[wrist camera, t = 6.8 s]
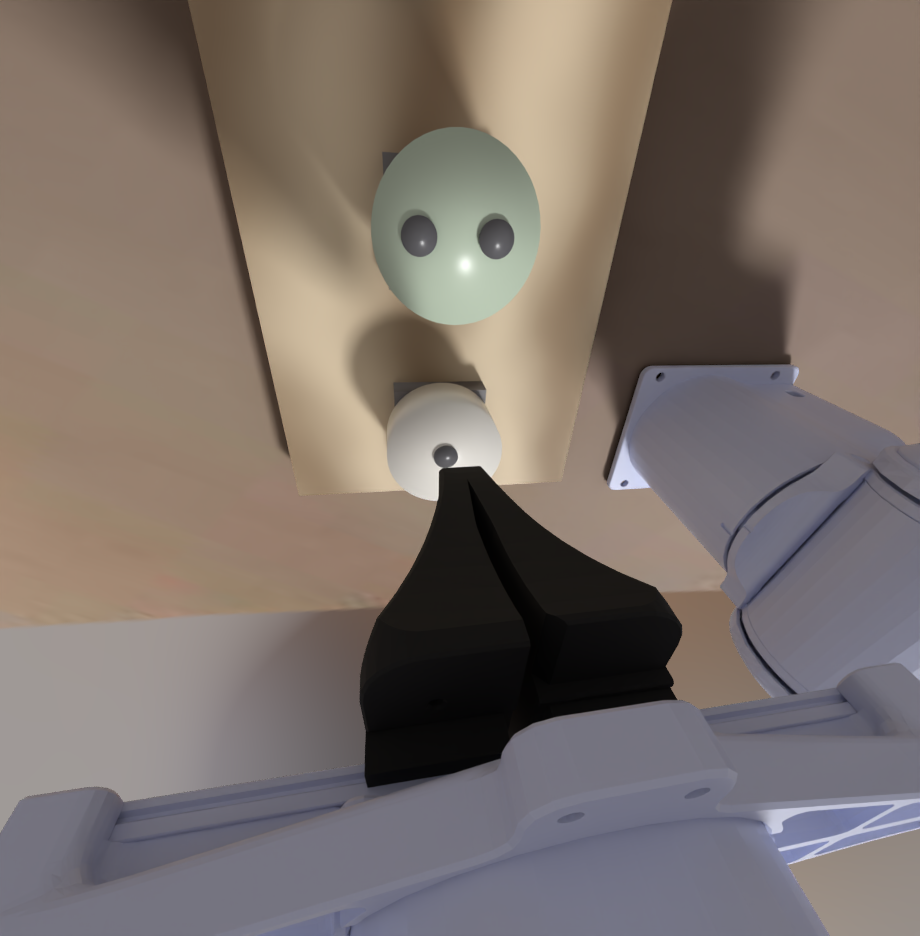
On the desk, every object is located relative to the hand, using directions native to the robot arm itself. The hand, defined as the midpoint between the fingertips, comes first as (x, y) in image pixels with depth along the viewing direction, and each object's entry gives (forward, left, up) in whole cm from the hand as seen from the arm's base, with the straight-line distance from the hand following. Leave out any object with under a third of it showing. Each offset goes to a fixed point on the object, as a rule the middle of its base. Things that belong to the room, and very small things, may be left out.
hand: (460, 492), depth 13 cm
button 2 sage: (0, -7, -5) cm, 8 cm away
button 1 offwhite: (0, +1, -6) cm, 6 cm away
